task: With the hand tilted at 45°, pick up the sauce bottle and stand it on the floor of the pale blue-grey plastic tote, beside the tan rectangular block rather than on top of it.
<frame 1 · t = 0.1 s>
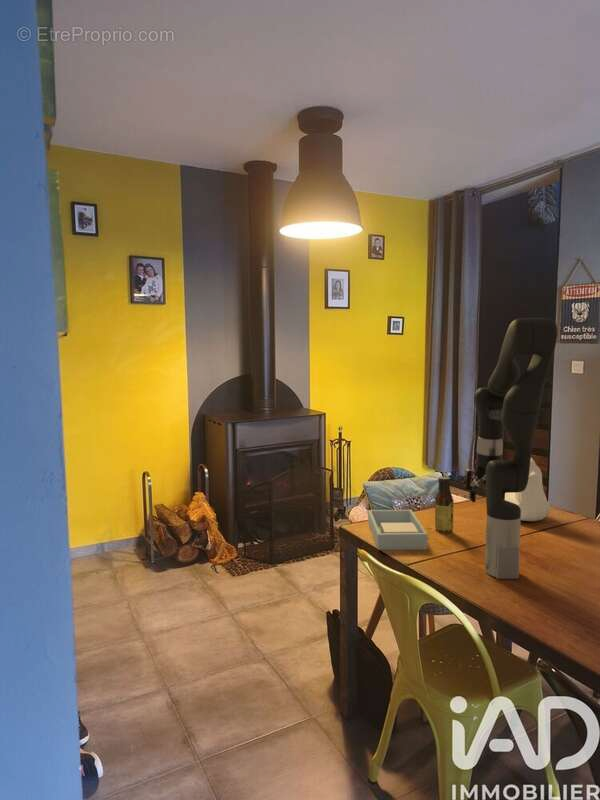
hand: (486, 501, 168), 17 cm above the table, tool pointing down, fingers open, 8 cm apart
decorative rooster: (524, 516, 208), on the table
tan rectangular block: (398, 541, 179), point 1 cm above the table, touching tote
sauce bottle: (443, 533, 190), on the table
tote: (395, 538, 185), on the table
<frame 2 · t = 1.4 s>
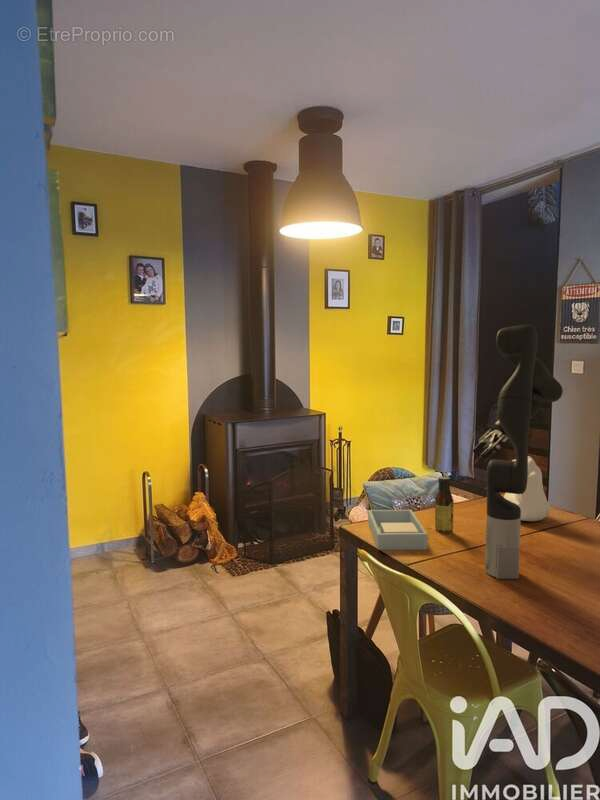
hand: (478, 455, 187), 28 cm above the table, tool tilted 45°, fingers open, 8 cm apart
nothing on the table moved.
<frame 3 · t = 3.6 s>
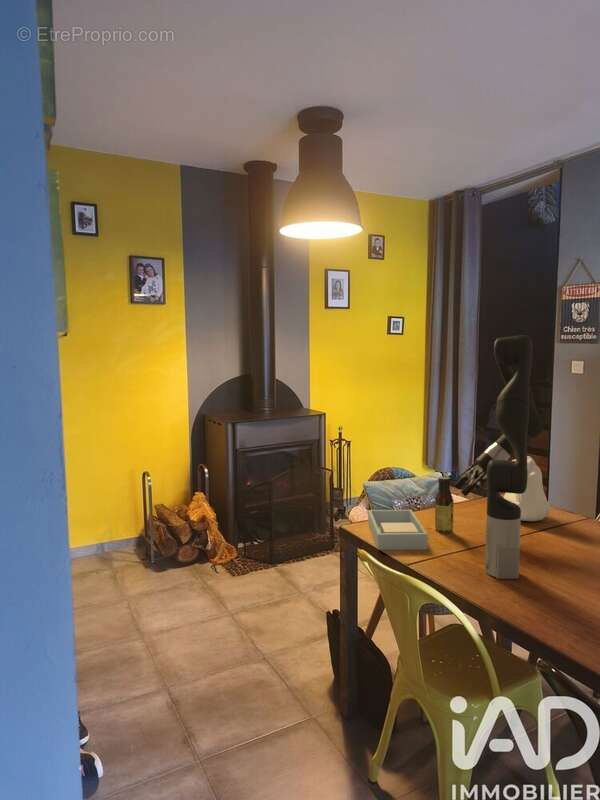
hand: (459, 490, 188), 15 cm above the table, tool tilted 45°, fingers open, 8 cm apart
nothing on the table moved.
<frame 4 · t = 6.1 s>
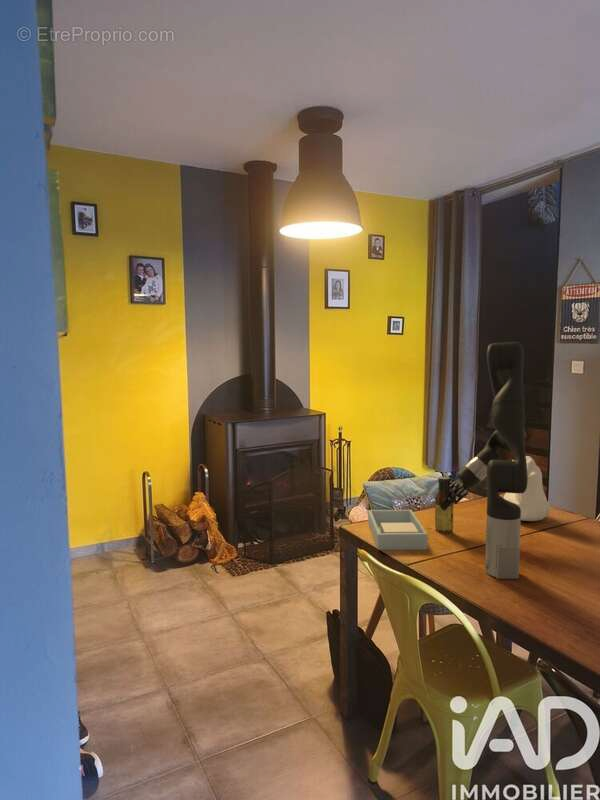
hand: (439, 505, 189), 10 cm above the table, tool tilted 45°, fingers closed on sauce bottle, 6 cm apart
sauce bottle: (443, 533, 190), on the table, touching gripper
everything else where it was.
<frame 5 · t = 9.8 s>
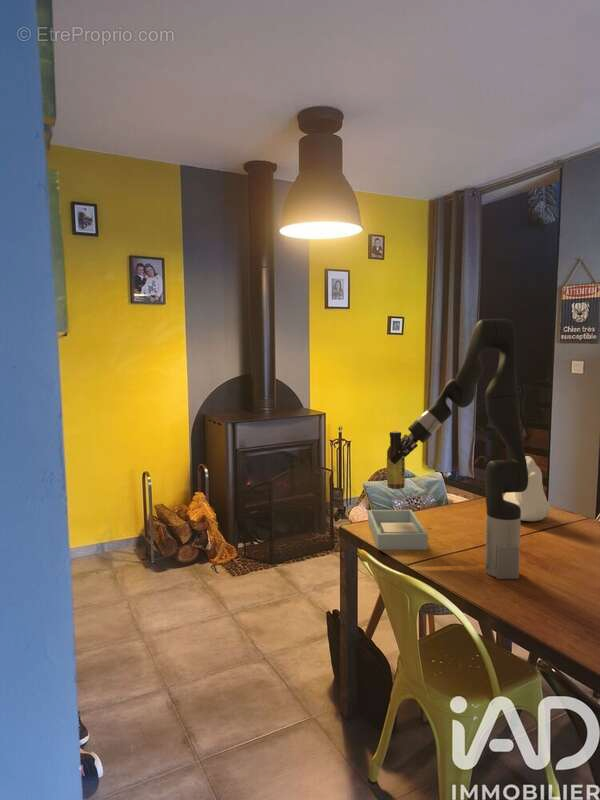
hand: (390, 460, 189), 26 cm above the table, tool tilted 45°, fingers closed on sauce bottle, 6 cm apart
sauce bottle: (395, 487, 190), point 16 cm above the table, touching gripper
everything else where it was.
when the fingers open (12 cm above the table, at t = 13.5 s): sauce bottle drops 1 cm, resting on tote.
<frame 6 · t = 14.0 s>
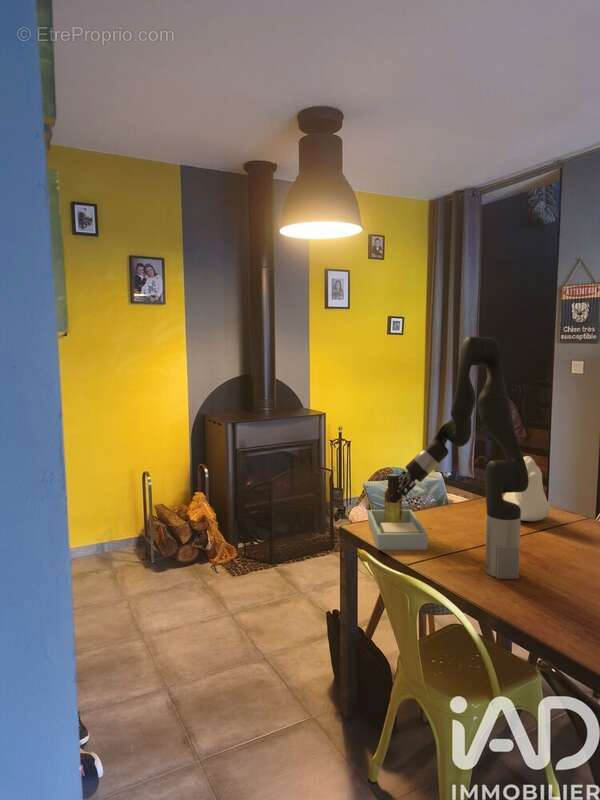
hand: (389, 497, 190), 13 cm above the table, tool tilted 45°, fingers open, 8 cm apart
sauce bottle: (393, 530, 191), point 1 cm above the table, touching tote
everything else where it was.
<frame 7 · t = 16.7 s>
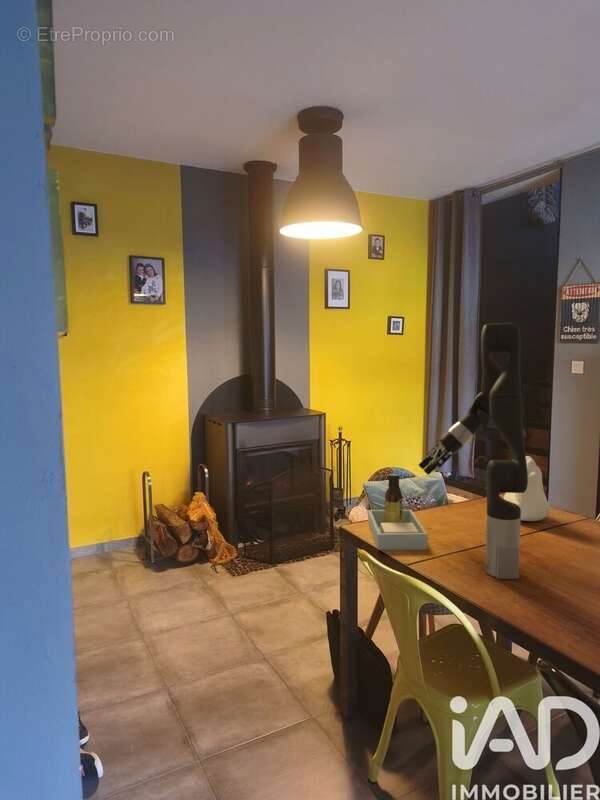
hand: (423, 470, 189), 23 cm above the table, tool tilted 45°, fingers open, 8 cm apart
nothing on the table moved.
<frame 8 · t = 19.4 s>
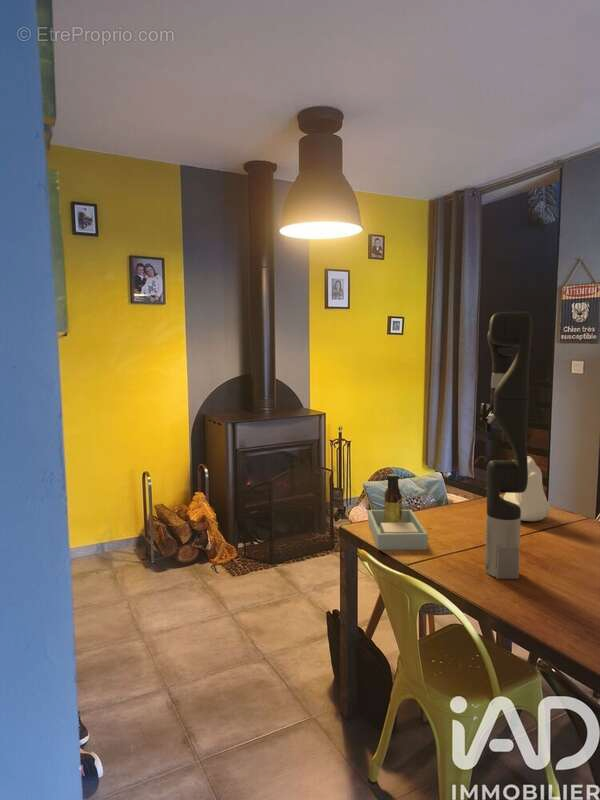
hand: (501, 433, 182), 36 cm above the table, tool pointing down, fingers open, 8 cm apart
nothing on the table moved.
at the end: sauce bottle inside the target area on the tote (0.5 cm from its centre), point 0.8 cm above the tote's base; sauce bottle tilted 0°; tan rectangular block moved 0.0 cm from its start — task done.
